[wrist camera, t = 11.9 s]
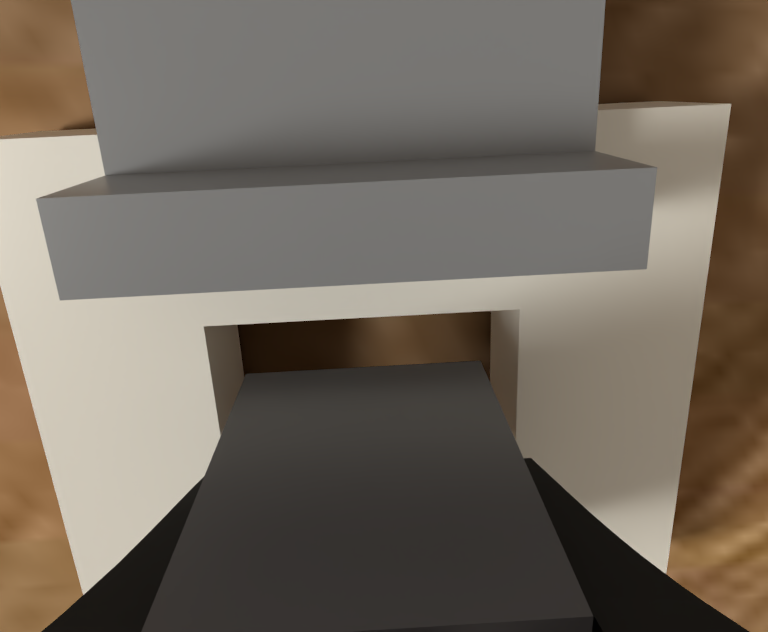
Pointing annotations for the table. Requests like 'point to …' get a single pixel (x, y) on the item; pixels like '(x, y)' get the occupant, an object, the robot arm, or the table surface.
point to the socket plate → (496, 294)
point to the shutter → (342, 147)
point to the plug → (369, 513)
